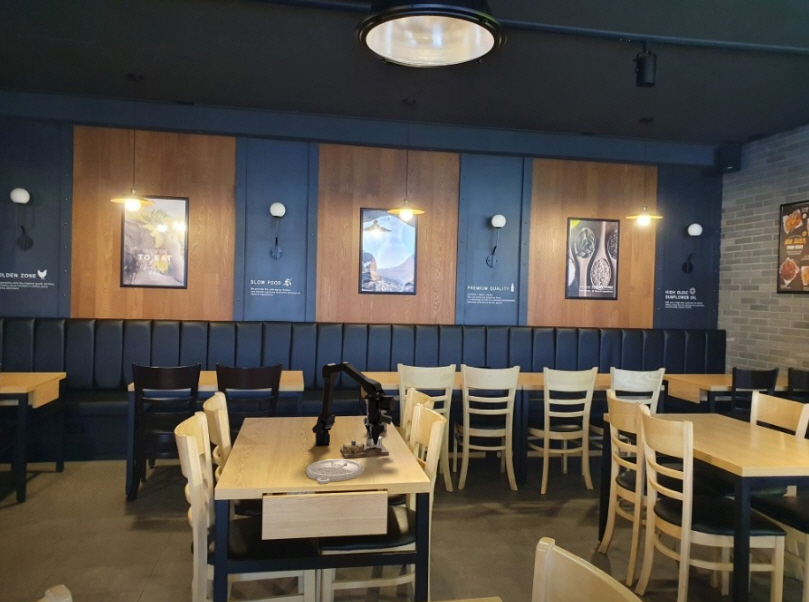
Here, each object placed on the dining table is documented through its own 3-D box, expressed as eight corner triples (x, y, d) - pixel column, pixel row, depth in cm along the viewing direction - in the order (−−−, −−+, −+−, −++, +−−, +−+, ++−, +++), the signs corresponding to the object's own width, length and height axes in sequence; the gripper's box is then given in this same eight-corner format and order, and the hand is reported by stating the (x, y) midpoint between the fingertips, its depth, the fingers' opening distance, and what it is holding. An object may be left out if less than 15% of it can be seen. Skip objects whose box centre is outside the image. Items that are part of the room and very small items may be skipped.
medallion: (370, 465, 245) (370, 460, 245) (350, 486, 218) (350, 480, 218) (318, 462, 250) (318, 457, 250) (293, 482, 224) (293, 476, 224)
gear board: (345, 458, 254) (345, 446, 254) (340, 450, 268) (340, 438, 268) (388, 454, 260) (388, 442, 260) (381, 446, 273) (381, 435, 273)
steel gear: (368, 447, 261) (367, 440, 261) (364, 443, 268) (364, 436, 268) (383, 446, 263) (383, 438, 262) (379, 442, 270) (379, 435, 270)
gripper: (395, 412, 258) (395, 446, 258) (385, 404, 276) (386, 436, 276) (371, 413, 255) (371, 448, 255) (363, 405, 273) (363, 438, 273)
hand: (373, 442), depth 265 cm, fingers closed on steel gear, 7 cm apart
